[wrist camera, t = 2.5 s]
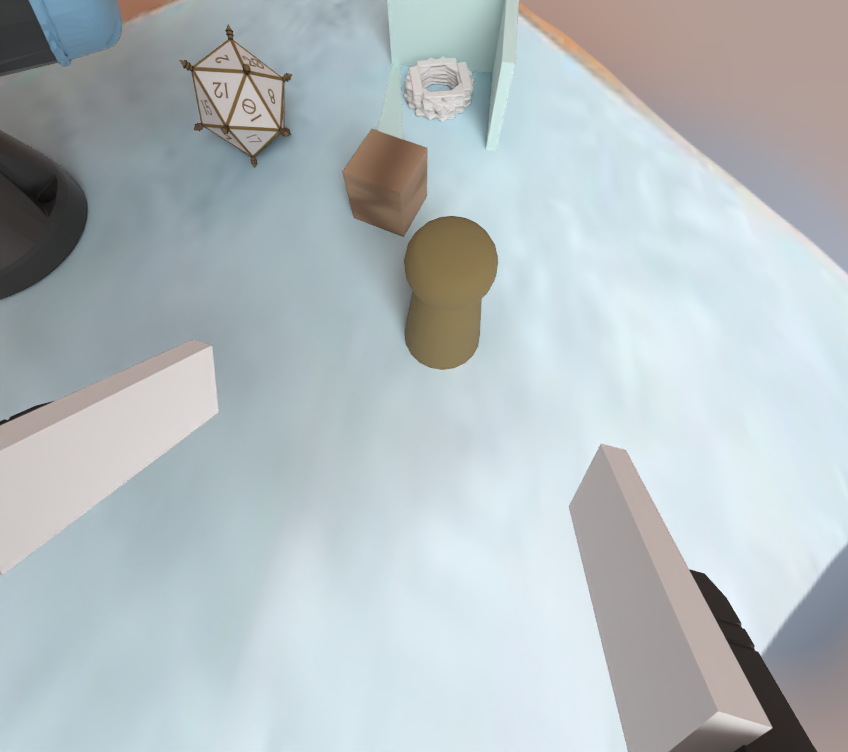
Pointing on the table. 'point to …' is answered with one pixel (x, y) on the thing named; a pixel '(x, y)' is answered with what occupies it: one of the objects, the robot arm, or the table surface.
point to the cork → (447, 289)
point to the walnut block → (387, 181)
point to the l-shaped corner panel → (449, 58)
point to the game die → (239, 97)
